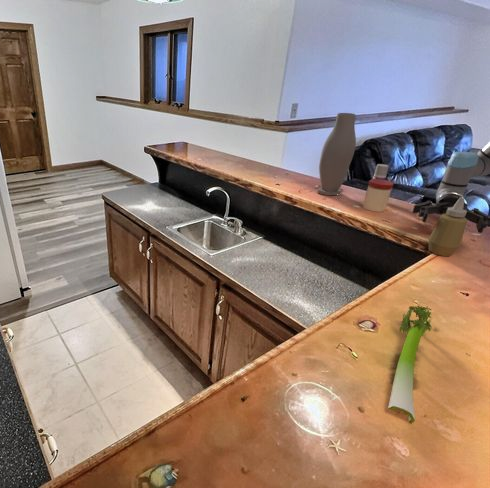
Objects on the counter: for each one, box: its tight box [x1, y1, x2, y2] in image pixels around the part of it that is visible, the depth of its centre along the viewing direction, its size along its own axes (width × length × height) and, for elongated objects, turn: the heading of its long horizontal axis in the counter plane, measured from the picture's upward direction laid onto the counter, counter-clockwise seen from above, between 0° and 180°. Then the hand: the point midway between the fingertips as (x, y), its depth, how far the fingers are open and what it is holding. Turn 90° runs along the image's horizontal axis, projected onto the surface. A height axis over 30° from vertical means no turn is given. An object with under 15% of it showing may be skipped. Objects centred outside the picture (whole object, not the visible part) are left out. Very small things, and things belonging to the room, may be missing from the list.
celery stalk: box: [387, 305, 433, 425], centre depth 67 cm, size 6×7×30 cm
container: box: [372, 163, 390, 180], centre depth 153 cm, size 5×5×15 cm
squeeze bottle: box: [427, 197, 468, 257], centre depth 106 cm, size 8×8×18 cm
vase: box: [316, 112, 357, 196], centre depth 155 cm, size 13×13×35 cm
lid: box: [368, 178, 395, 190], centre depth 141 cm, size 8×8×2 cm
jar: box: [362, 184, 393, 213], centre depth 143 cm, size 8×8×10 cm
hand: (452, 223), depth 104 cm, fingers open, 13 cm apart
